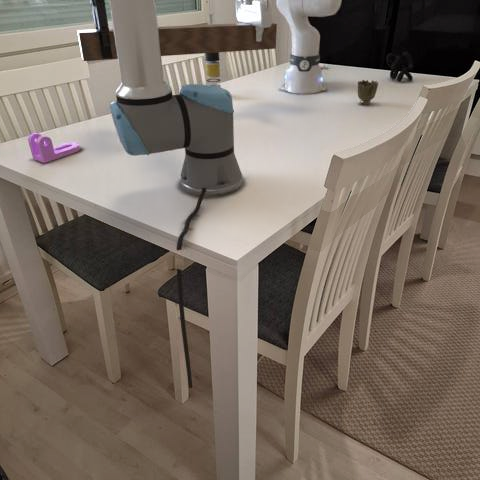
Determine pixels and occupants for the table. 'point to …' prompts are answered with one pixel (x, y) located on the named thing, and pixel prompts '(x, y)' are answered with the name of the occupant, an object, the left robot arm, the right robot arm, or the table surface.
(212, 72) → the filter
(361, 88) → the cup
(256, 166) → the table surface
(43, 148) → the bracket
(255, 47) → the post
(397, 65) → the squiggle
